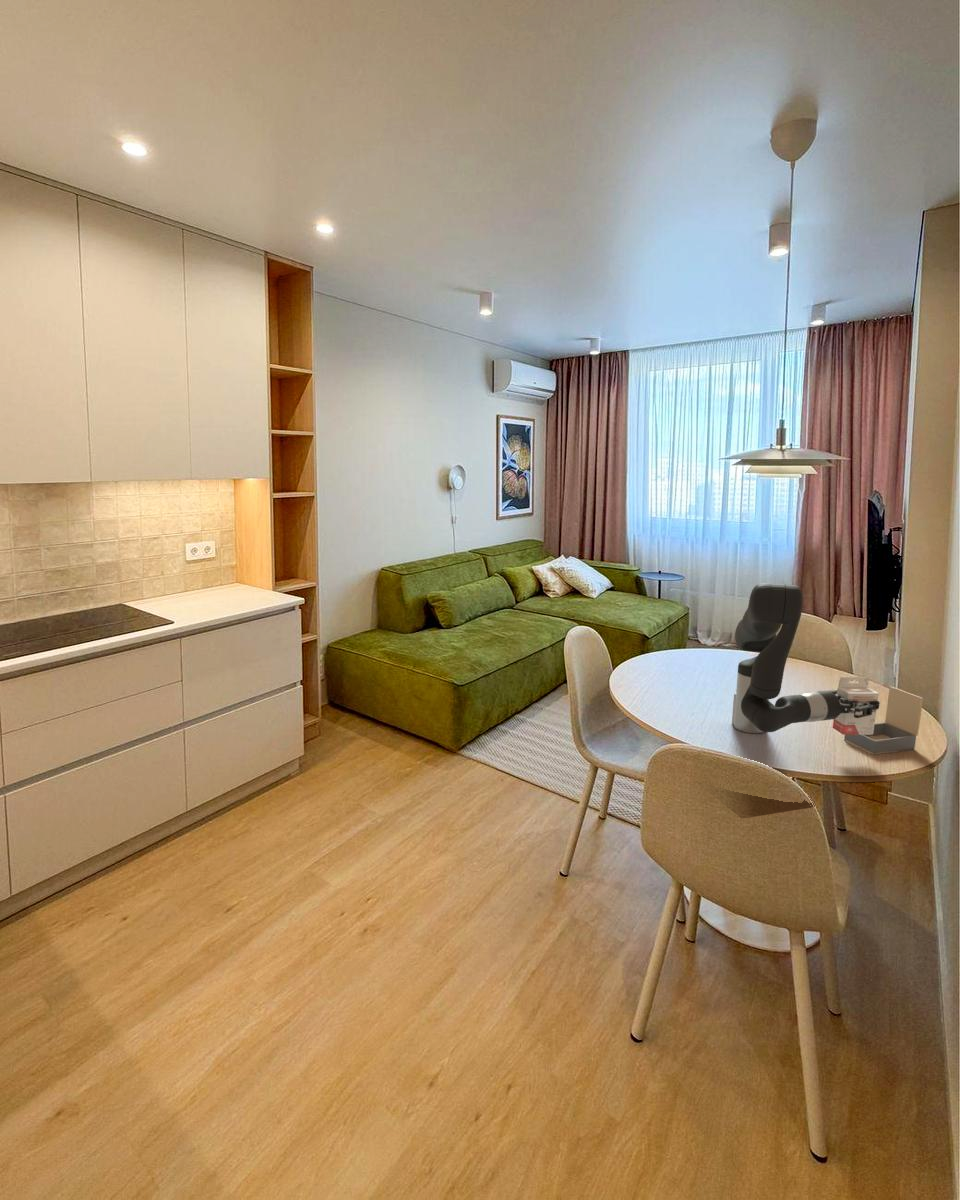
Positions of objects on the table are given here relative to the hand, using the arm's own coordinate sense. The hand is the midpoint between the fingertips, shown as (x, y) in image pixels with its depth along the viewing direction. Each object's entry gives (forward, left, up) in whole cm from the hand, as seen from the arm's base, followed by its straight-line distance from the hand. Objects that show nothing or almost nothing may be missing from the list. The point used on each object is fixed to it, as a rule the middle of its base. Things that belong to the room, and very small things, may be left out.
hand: (867, 700), depth 167 cm
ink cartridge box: (0, -3, -9) cm, 9 cm away
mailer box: (-4, +10, -16) cm, 19 cm away
